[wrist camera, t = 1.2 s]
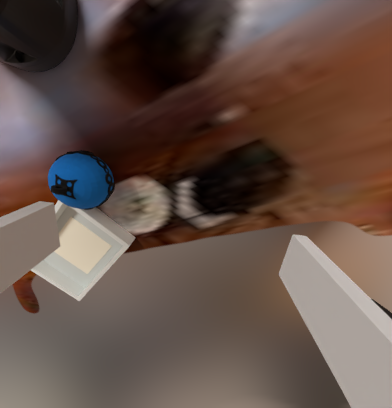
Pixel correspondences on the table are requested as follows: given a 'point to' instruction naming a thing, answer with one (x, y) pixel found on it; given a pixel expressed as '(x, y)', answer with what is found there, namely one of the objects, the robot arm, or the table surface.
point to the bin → (83, 249)
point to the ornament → (81, 180)
